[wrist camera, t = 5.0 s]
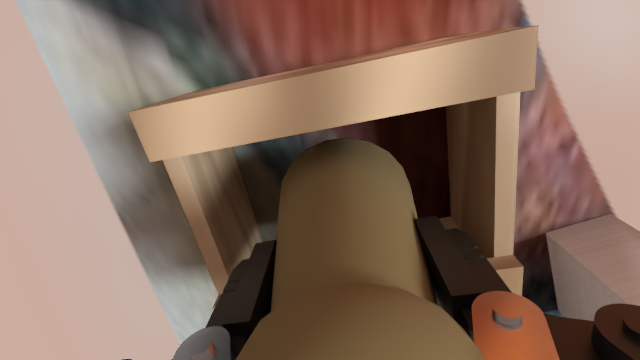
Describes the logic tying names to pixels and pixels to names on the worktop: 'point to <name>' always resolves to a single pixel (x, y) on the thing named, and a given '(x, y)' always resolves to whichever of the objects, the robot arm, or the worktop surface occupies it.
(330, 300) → the cork
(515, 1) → the worktop surface
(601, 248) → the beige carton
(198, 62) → the worktop surface
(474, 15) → the worktop surface
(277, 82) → the open rectangular wooden frame
